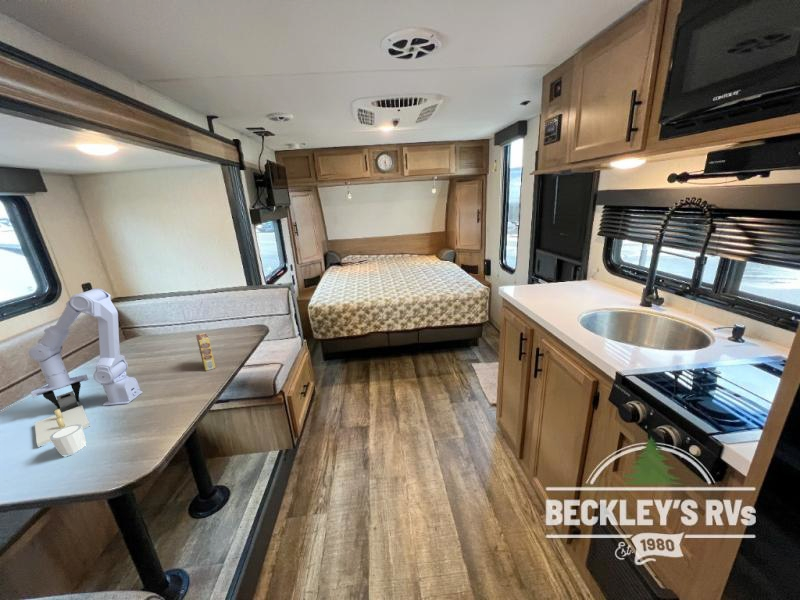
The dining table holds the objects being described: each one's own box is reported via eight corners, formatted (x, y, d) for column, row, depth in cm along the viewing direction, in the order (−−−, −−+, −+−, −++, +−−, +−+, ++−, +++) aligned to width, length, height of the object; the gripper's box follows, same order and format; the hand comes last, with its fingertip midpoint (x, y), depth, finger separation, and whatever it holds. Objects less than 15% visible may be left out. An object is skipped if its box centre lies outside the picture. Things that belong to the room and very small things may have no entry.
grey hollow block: (61, 407, 119) (56, 396, 117) (77, 402, 122) (72, 390, 121) (62, 413, 115) (57, 401, 114) (79, 407, 118) (74, 395, 117)
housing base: (36, 426, 108) (30, 414, 107) (83, 408, 117) (78, 397, 116) (38, 448, 97) (32, 434, 96) (90, 426, 106) (85, 414, 105)
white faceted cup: (95, 441, 99) (88, 422, 97) (74, 457, 92) (65, 438, 90) (74, 443, 98) (65, 424, 97) (51, 459, 92) (42, 440, 90)
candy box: (216, 368, 142) (208, 337, 138) (206, 371, 140) (197, 340, 136) (213, 361, 149) (205, 332, 145) (203, 364, 147) (195, 335, 142)
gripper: (81, 362, 122) (93, 392, 126) (25, 378, 111) (40, 410, 115) (83, 366, 118) (95, 397, 122) (25, 384, 107) (41, 417, 111)
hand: (68, 404), depth 118 cm, fingers closed on grey hollow block, 4 cm apart
